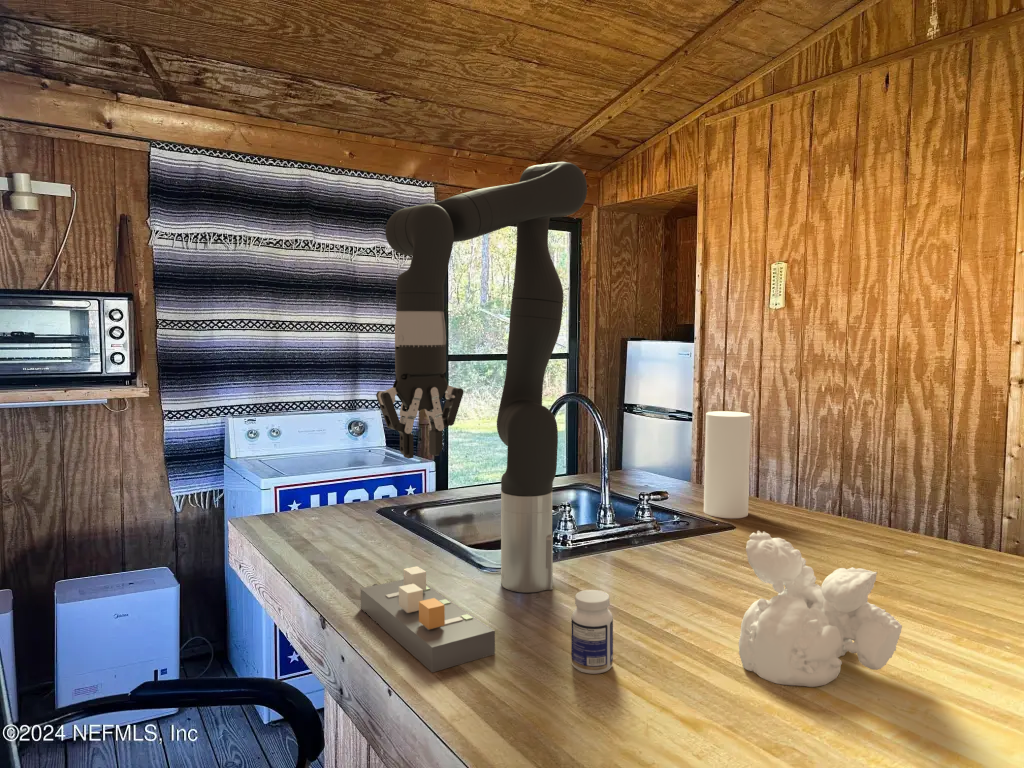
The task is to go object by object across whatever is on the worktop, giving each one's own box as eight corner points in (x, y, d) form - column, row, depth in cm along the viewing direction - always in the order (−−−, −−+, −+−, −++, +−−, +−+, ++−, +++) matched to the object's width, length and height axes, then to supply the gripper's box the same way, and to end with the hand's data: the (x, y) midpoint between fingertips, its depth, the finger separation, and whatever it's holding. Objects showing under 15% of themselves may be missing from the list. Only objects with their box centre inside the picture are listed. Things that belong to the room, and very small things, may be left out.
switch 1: (412, 592, 116) (411, 574, 116) (403, 586, 119) (403, 568, 118) (426, 589, 117) (426, 571, 117) (417, 583, 120) (417, 566, 120)
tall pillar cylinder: (719, 505, 188) (722, 410, 186) (756, 513, 180) (759, 414, 178) (694, 511, 182) (697, 413, 180) (731, 520, 173) (734, 417, 171)
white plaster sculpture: (693, 605, 98) (767, 510, 107) (729, 697, 107) (795, 601, 116) (829, 663, 83) (900, 546, 93) (857, 763, 92) (920, 648, 102)
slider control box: (347, 597, 125) (347, 576, 124) (401, 586, 130) (401, 566, 130) (432, 672, 98) (432, 646, 98) (494, 654, 103) (494, 629, 103)
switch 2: (407, 612, 108) (407, 593, 108) (398, 605, 111) (398, 586, 110) (423, 609, 109) (422, 589, 109) (413, 602, 112) (413, 583, 112)
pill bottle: (586, 652, 104) (586, 584, 103) (620, 663, 100) (621, 594, 100) (562, 666, 100) (563, 596, 99) (598, 679, 96) (598, 606, 95)
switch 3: (428, 629, 102) (428, 608, 102) (419, 621, 105) (418, 601, 105) (444, 625, 103) (444, 605, 103) (434, 617, 106) (434, 597, 106)
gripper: (450, 341, 115) (451, 448, 116) (365, 342, 107) (367, 457, 108) (474, 342, 108) (474, 455, 110) (386, 343, 101) (387, 465, 102)
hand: (421, 455), depth 109 cm, fingers open, 3 cm apart
